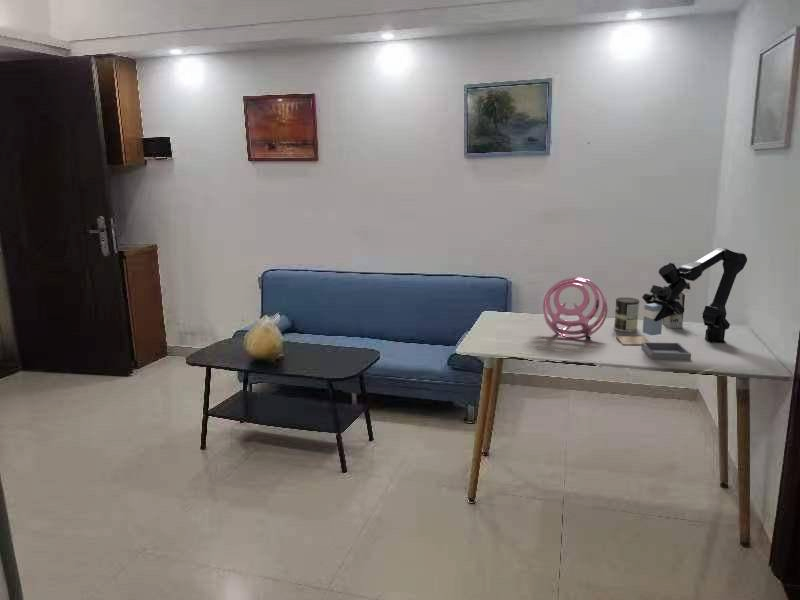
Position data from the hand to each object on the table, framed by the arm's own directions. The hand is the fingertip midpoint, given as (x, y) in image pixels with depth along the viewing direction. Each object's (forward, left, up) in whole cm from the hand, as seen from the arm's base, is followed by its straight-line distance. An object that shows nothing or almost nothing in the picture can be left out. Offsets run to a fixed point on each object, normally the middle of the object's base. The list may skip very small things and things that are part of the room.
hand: (650, 319), depth 239 cm
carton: (-1, -1, -6) cm, 6 cm away
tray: (-5, +5, -13) cm, 15 cm away
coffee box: (-22, -41, -14) cm, 48 cm away
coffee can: (+1, -34, -14) cm, 36 cm away
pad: (+3, -12, -13) cm, 18 cm away
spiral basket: (+28, -20, -14) cm, 37 cm away
